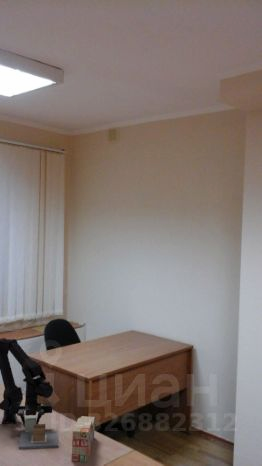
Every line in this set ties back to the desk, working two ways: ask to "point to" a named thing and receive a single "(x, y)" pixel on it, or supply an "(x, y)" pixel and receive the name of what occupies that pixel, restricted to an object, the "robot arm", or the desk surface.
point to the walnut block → (39, 432)
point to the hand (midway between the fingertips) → (30, 427)
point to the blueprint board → (28, 442)
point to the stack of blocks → (82, 438)
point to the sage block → (30, 423)
